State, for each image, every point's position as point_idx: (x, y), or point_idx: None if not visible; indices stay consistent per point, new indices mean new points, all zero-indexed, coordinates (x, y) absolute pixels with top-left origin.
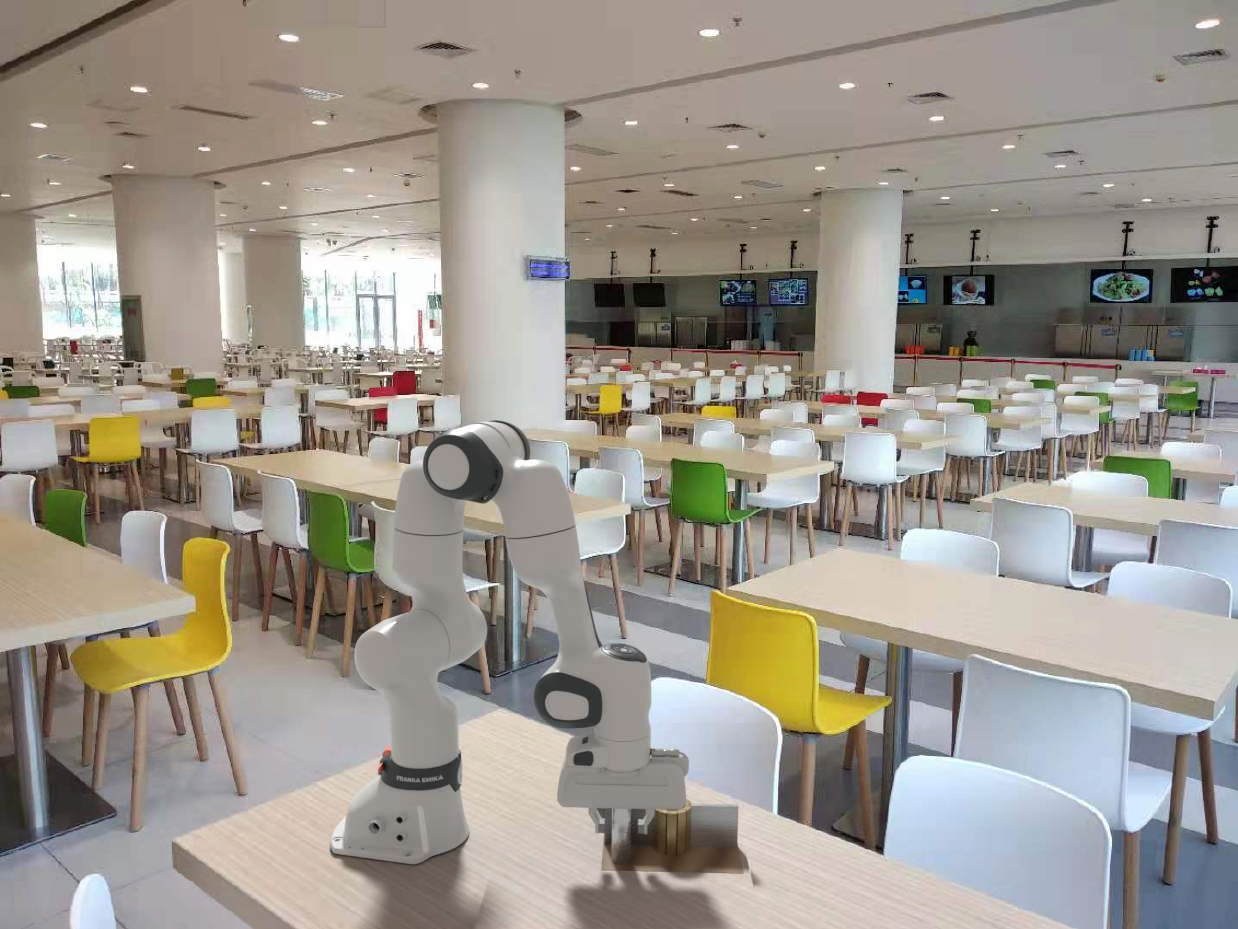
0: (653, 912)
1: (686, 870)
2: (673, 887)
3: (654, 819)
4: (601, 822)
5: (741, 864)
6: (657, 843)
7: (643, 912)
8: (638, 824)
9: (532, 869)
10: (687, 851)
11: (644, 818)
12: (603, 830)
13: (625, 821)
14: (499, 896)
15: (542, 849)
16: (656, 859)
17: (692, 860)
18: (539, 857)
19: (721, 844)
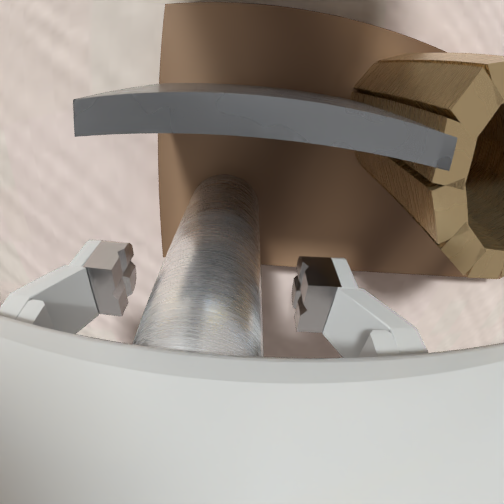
0: (291, 350)
1: (409, 268)
2: (359, 280)
3: (404, 191)
4: (104, 306)
5: None
6: (372, 175)
7: (270, 350)
8: (298, 329)
9: (12, 199)
10: None
11: (342, 310)
12: (127, 292)
13: None
14: (5, 286)
15: (9, 103)
16: (347, 209)
17: None
18: (10, 143)
19: None
